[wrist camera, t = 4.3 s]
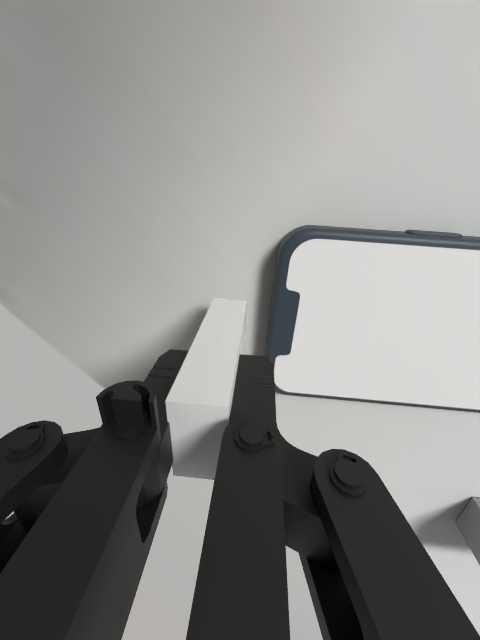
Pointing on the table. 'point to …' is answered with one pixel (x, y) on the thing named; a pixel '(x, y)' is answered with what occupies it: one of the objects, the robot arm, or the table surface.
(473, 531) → the grey u-shaped piece
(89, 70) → the table surface
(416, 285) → the smartphone
